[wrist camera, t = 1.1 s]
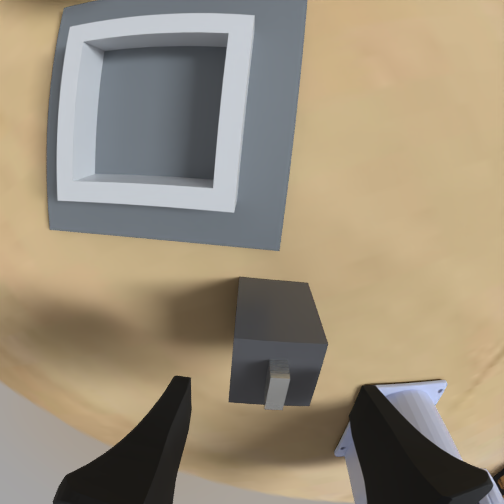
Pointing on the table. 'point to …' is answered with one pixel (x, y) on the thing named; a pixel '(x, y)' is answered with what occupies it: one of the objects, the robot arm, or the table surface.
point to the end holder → (175, 119)
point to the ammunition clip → (500, 482)
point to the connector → (276, 344)
